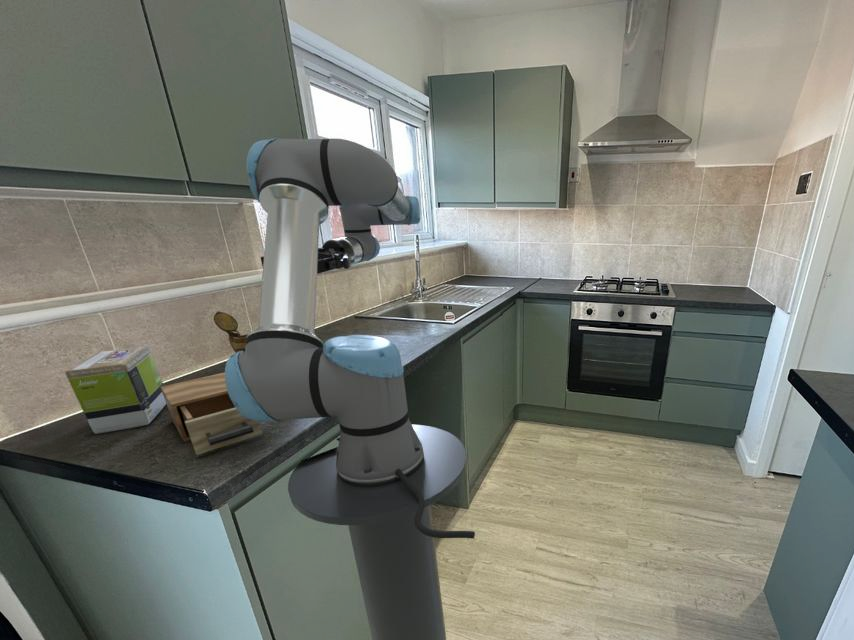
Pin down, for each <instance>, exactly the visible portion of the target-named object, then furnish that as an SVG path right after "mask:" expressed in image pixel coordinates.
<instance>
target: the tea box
mask: <svg viewBox="0 0 854 640" xmlns="http://www.w3.org/2000/svg"><path fill="white" fill-rule="evenodd" d="M64 373H65V376H66V378H67V381H68V382H69V384H70V387H71V388H72V391H73V393H74V395H75V397H76V399H77V401H78V403H79V405H80V408H81V410H82V412H83V414H84V416H85V417H86V421H87V422H88V425H89V427H90V428H91V431H92V433H93V434H95V435H98V434H104V433H109V432H110V433H111V432H114V431H115V432H116V431H121V430H129V429H133V428H139V427H144V426H148V425H150V424H151V423H152V421H153V420H154V419H155V418H156V417H157V415H158V414H159V413H160V412H161V411H162V410H163V409H164V408H165V406H167V404H166V401H165V398H164V396H163V393H162V390H161V386H165V385H164V383H163V380H162V376H161V375H160V373H159V370H158V367H157V364H156V362H155V359H154V357H153V354H152V352H151V349H150V347H149V346H148V345H146V346H138V347H131V348H130V347H129V348H122V349H121V348H120V349H113V350H106V351H97V352H95V353H94V354H92V355H91V356H89V357H86V359H84V360H82V361H80V362H79V363H77V364H75V365H74V366H71V367H70V368H69V369H67V370H65V371H64Z"/></svg>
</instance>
